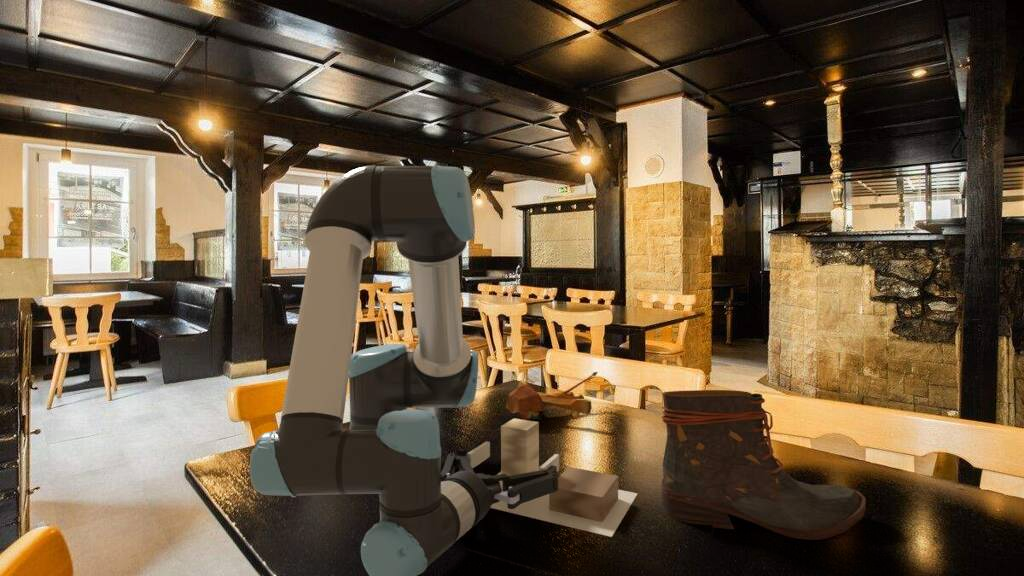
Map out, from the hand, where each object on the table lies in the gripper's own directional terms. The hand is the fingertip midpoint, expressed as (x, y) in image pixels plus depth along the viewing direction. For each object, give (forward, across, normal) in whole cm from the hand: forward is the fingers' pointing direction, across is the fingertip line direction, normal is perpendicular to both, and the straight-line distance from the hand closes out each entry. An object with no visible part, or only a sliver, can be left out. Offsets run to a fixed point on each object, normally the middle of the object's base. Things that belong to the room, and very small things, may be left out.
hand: (521, 455), depth 93 cm
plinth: (0, +12, -6) cm, 13 cm away
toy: (+47, -12, -7) cm, 49 cm away
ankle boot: (+9, +38, -7) cm, 40 cm away
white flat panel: (0, +6, -7) cm, 9 cm away
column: (0, 0, -6) cm, 7 cm away
